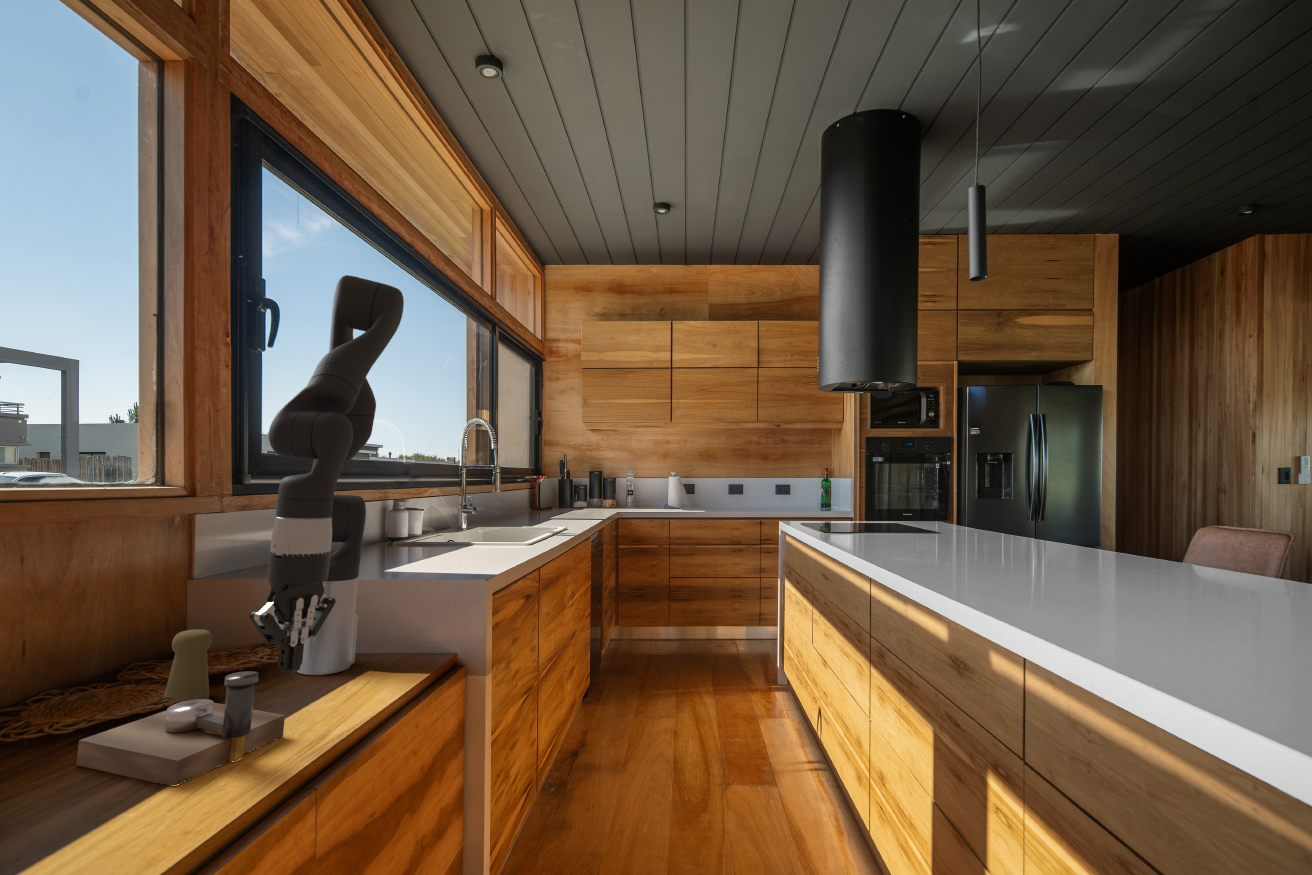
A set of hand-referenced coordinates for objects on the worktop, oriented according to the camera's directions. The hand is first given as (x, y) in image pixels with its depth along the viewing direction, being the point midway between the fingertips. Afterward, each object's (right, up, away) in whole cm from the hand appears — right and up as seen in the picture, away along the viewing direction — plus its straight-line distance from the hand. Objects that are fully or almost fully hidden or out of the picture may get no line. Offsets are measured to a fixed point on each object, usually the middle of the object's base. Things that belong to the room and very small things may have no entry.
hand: (289, 671), depth 85 cm
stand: (-10, -8, -5) cm, 14 cm away
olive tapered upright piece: (-24, -9, +11) cm, 28 cm away
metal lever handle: (-6, -5, -6) cm, 11 cm away
